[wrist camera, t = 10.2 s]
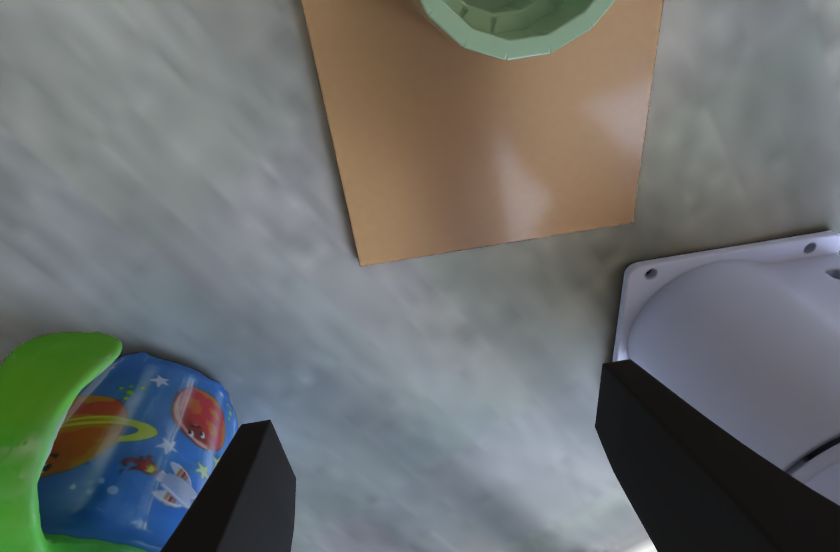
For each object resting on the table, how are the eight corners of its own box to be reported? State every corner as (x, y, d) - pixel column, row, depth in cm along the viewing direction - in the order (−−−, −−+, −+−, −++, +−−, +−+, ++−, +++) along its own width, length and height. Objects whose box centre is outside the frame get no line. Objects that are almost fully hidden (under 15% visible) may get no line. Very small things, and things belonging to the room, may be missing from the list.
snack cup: (258, 514, 27) (209, 767, 18) (46, 503, 24) (-127, 790, 16) (296, 290, 19) (243, 541, 10) (-7, 240, 17) (-401, 517, 8)
